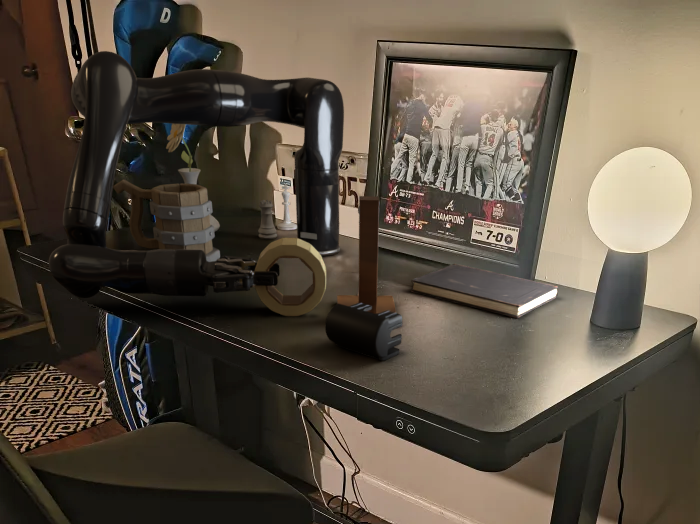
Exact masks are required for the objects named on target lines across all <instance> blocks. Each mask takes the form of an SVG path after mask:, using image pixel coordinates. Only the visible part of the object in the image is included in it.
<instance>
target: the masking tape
mask: <svg viewBox="0 0 700 524" xmlns="http://www.w3.org/2000/svg"><path fill="white" fill-rule="evenodd" d="M280 259H299V260H300V261H301V262H302V263H303V265H305V266H306V267H307V269H309V270H310V271H311V272H312V283H311V285H310V286H309V287H307V289H306V290H304V292H303V293H302V294H301V295H300V294H299V295H298V294H297V295H296V294H295V295H293V294H291V295H290V294H283V293H282V292H280V291H279V290H278V289H277V288H276V286H256V285H255V287H254V289H255V291H256V293H257V296H258V298H259V299H260V301H261V302H262V304H264V305H265V307H266V308H268V309H269V310H270V311H272V312H273V313H276V314H280V315H281V316H284V317H299V316H302V315H305V314H307V313H309V312H311V311H313V310H314V309H315V308H316V307H317V306H318V305H319V304H320V303H321V302H322V300H323V297H324V294H325V293H326V289H327V267H326V264H325V262H324V260H323V256H321V255H320V253H319V252H318V251H317V250H316V249H315V248H314V247H313V246H312V245H311V244H310V243H307V242H305V241H303V240H301V239H298V238H297V237H281V238H279V239H276V240H274V241H272V242H270V243H269V244H267V246H266V247H265V248H264V249H263V250H262V251H261V252H260V254H259V257H258V260H257V265H256V268H255V271H269V269H270V268H271V267H272V266H273V265H274V264H275V263H277V262H278V260H280ZM255 271H254V274H255Z"/></svg>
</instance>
